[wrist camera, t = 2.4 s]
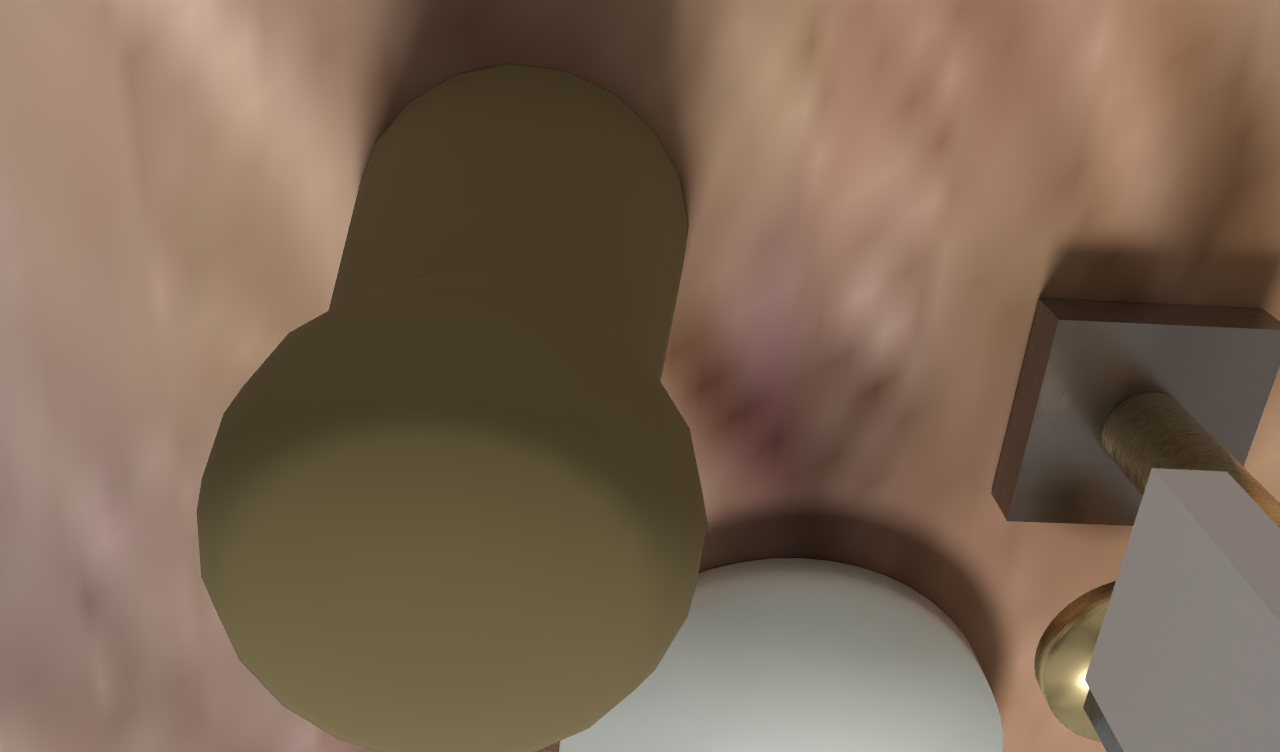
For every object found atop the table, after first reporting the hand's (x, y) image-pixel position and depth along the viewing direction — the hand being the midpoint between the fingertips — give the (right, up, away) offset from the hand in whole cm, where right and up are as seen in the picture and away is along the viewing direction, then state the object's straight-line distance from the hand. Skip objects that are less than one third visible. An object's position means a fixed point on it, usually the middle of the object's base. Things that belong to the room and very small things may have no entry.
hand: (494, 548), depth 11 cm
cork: (-1, +4, +9) cm, 10 cm away
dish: (+5, -7, +14) cm, 16 cm away
